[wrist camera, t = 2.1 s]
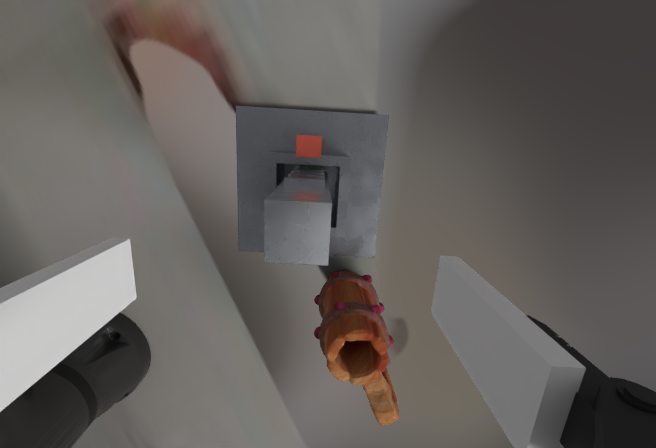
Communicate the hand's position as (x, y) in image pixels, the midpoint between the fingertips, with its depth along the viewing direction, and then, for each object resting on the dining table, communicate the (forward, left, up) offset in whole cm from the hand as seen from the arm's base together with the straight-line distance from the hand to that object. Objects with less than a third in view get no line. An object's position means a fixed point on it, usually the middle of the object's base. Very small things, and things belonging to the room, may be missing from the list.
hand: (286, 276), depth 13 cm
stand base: (0, 0, -27) cm, 27 cm away
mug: (+7, -17, -27) cm, 33 cm away
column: (0, 0, -26) cm, 26 cm away
